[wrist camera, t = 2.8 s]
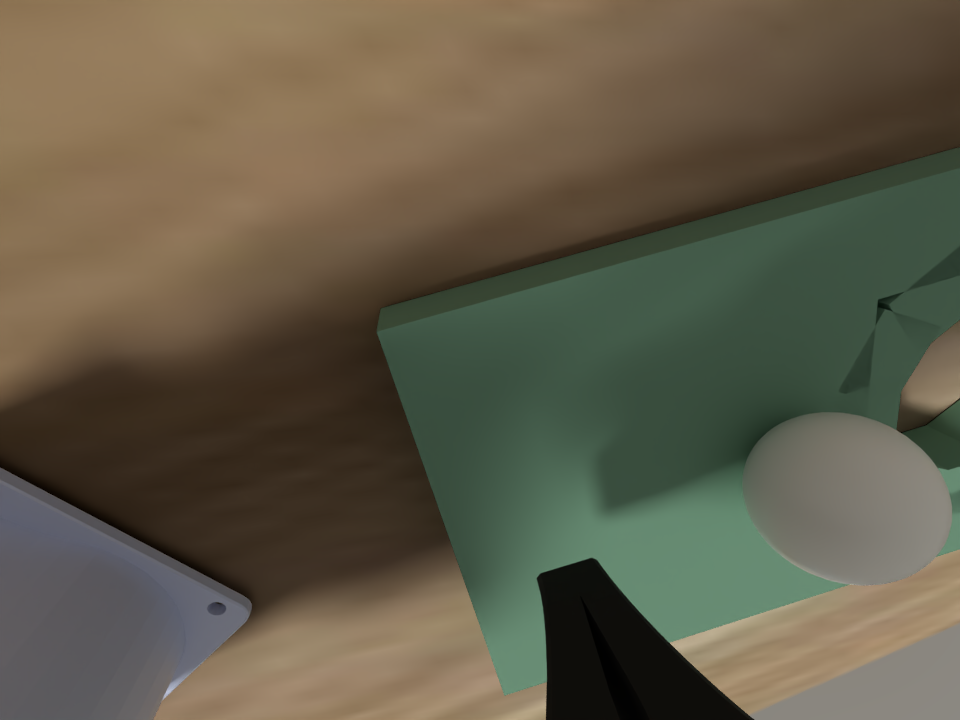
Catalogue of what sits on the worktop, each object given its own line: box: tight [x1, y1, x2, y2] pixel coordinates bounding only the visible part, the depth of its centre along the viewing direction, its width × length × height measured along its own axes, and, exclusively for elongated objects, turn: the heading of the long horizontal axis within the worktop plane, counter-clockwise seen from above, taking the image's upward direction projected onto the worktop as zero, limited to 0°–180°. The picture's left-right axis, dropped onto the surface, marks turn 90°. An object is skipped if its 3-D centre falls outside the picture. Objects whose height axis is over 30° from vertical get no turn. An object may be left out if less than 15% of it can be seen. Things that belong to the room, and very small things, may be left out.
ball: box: [742, 412, 952, 586], centre depth 11 cm, size 4×4×4 cm
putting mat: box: [377, 147, 960, 695], centre depth 14 cm, size 22×13×2 cm, turn 104°
